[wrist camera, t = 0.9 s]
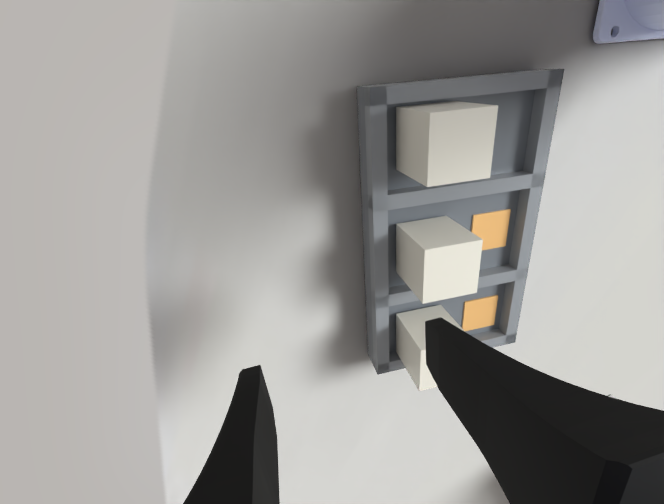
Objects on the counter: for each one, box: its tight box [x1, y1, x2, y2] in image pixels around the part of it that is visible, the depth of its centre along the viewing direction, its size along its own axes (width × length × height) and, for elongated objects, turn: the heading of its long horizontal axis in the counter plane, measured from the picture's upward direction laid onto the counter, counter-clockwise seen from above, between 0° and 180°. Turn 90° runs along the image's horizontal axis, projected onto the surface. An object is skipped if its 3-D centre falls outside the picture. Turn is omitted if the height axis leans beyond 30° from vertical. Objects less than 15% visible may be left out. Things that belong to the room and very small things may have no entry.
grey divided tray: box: [357, 69, 564, 374], centre depth 22 cm, size 10×17×2 cm, turn 5°
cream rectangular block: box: [396, 216, 483, 304], centre depth 20 cm, size 3×3×4 cm
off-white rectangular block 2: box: [396, 305, 465, 391], centre depth 22 cm, size 3×3×4 cm
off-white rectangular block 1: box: [396, 101, 498, 187], centre depth 17 cm, size 3×3×4 cm
